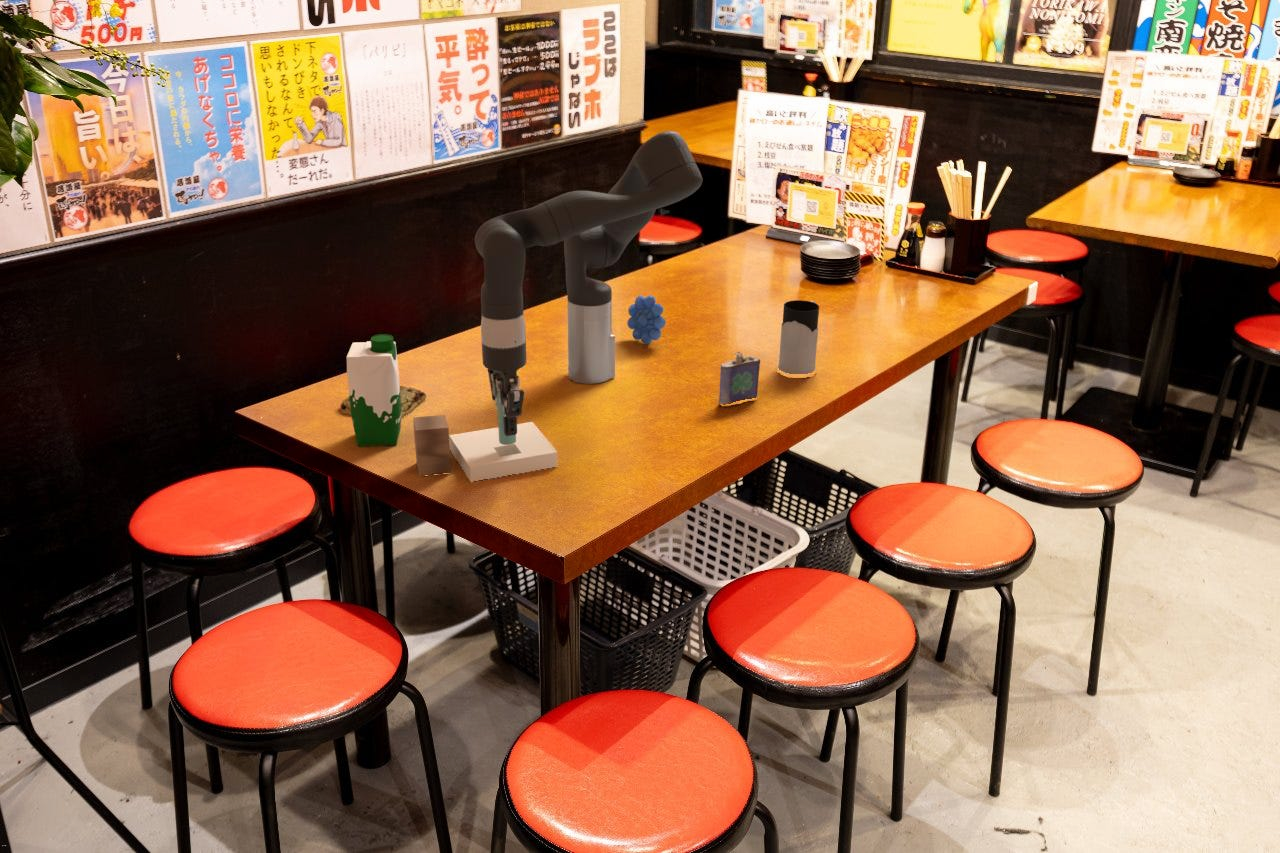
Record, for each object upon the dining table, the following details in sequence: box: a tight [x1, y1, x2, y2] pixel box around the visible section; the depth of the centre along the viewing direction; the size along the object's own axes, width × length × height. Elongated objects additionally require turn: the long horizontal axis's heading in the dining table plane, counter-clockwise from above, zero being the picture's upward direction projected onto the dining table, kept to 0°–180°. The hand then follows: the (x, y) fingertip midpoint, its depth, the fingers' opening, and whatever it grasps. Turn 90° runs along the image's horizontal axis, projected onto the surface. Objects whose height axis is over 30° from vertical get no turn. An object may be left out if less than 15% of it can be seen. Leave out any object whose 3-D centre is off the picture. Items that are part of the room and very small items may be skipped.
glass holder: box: [777, 299, 820, 374], centre depth 244 cm, size 9×14×15 cm, turn 155°
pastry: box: [339, 385, 427, 419], centre depth 225 cm, size 17×17×3 cm
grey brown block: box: [412, 414, 452, 477], centre depth 198 cm, size 6×6×9 cm
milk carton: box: [346, 333, 402, 447], centre depth 207 cm, size 9×9×20 cm
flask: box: [718, 351, 761, 405], centre depth 227 cm, size 9×3×11 cm, turn 121°
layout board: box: [449, 421, 559, 482], centre depth 203 cm, size 16×14×3 cm
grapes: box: [627, 294, 666, 345], centre depth 257 cm, size 12×7×12 cm, turn 44°
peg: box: [496, 393, 516, 445], centre depth 197 cm, size 3×3×9 cm
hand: (507, 430), depth 199 cm, fingers closed on peg, 3 cm apart
